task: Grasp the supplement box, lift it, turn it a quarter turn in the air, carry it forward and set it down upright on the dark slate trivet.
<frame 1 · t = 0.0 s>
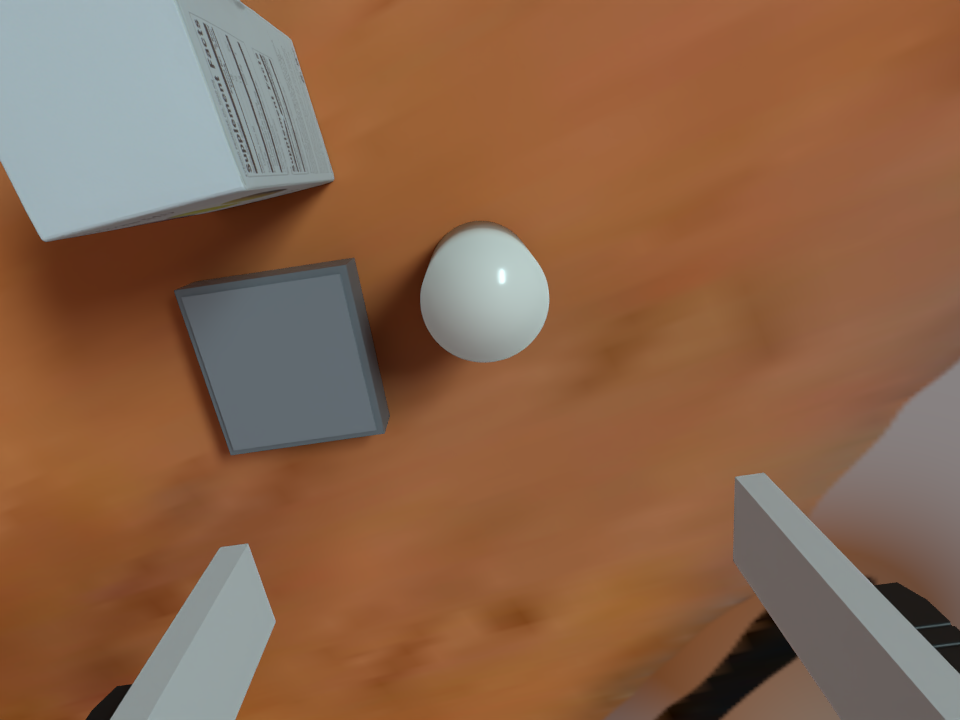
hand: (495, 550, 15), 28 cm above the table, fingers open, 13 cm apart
white rounded knob: (480, 273, 40), on the table
supplement box: (251, 129, 37), on the table
slate trivet: (296, 352, 42), on the table
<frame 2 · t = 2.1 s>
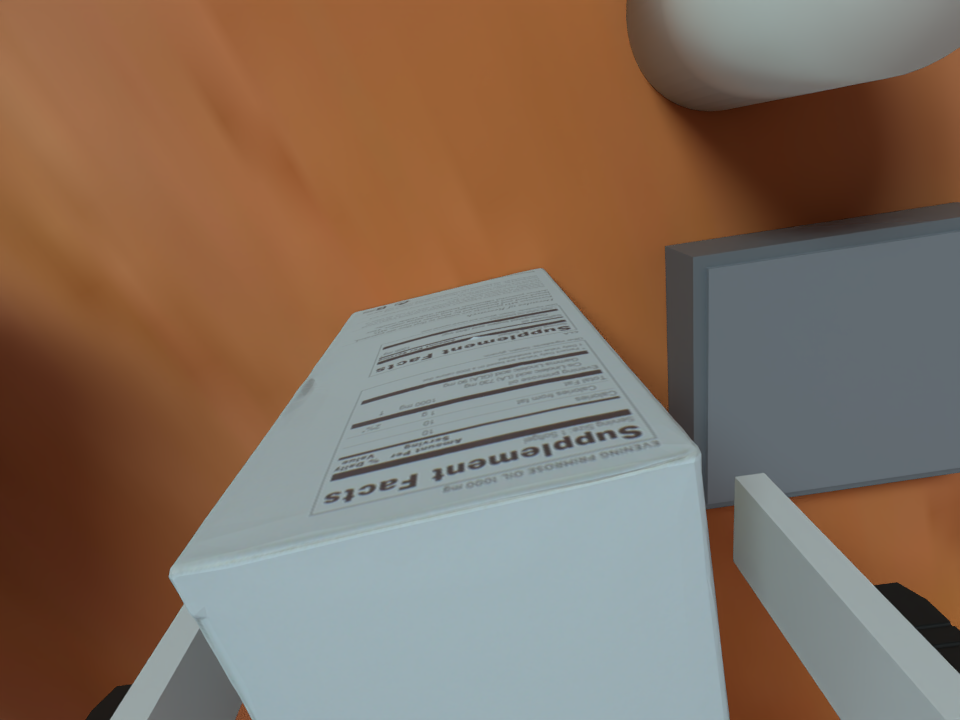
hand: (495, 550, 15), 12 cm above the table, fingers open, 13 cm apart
white rounded knob: (723, 3, 21), on the table
supplement box: (470, 378, 26), on the table
slate trivet: (801, 350, 26), on the table
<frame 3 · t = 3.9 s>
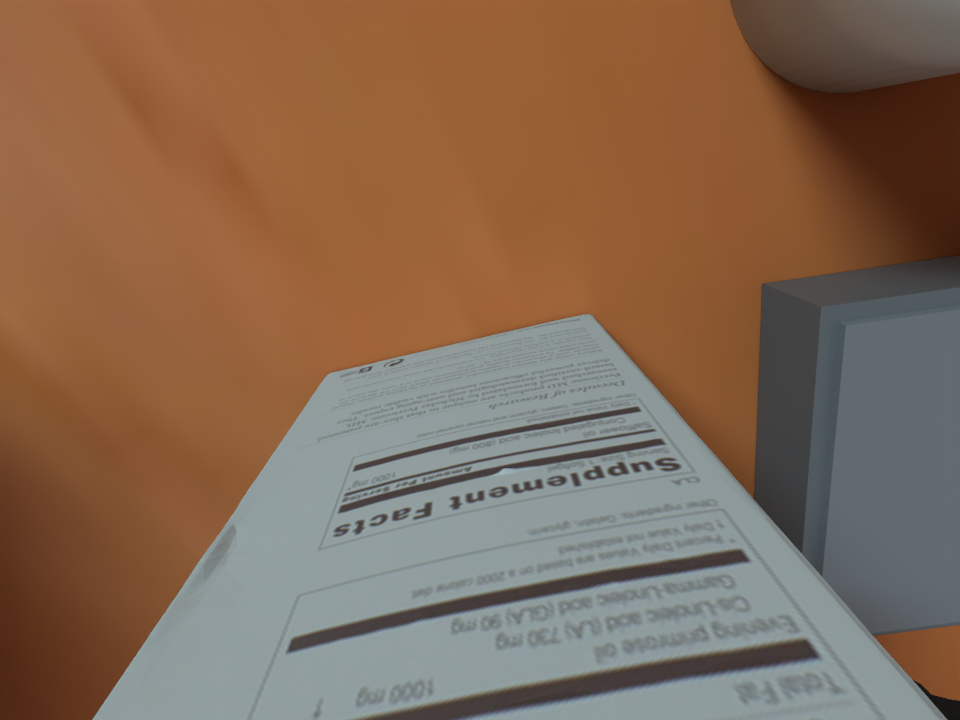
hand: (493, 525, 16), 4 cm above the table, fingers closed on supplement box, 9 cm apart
supplement box: (487, 457, 19), on the table, touching gripper
slate trivet: (940, 423, 19), on the table
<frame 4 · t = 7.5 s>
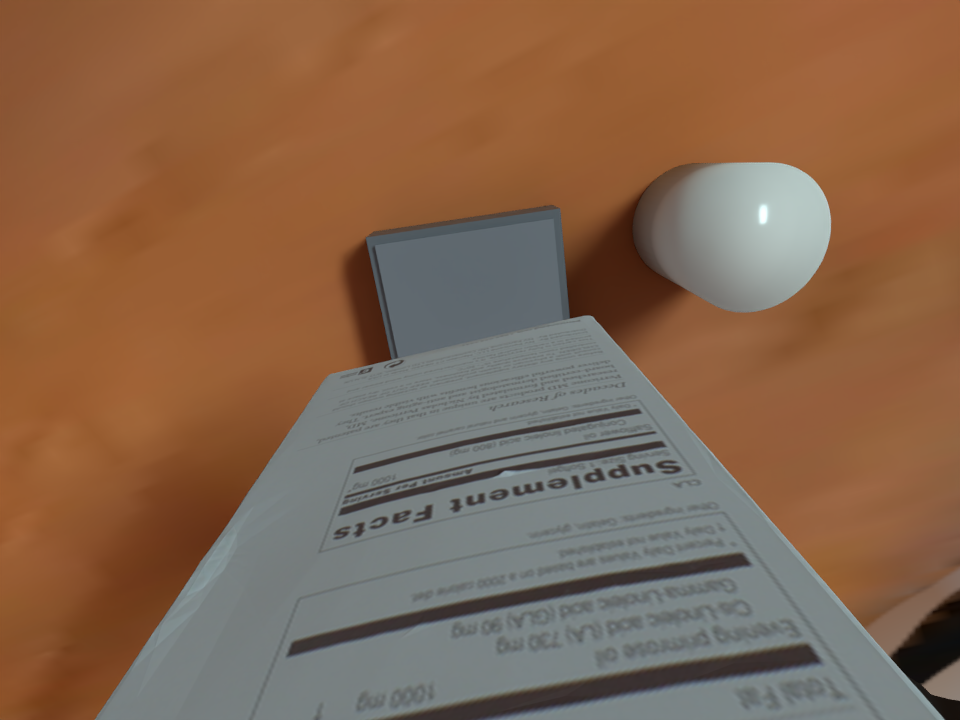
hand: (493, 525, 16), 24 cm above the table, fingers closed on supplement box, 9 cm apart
white rounded knob: (688, 223, 36), on the table
supplement box: (487, 459, 19), point 20 cm above the table, touching gripper
slate trivet: (476, 312, 38), on the table
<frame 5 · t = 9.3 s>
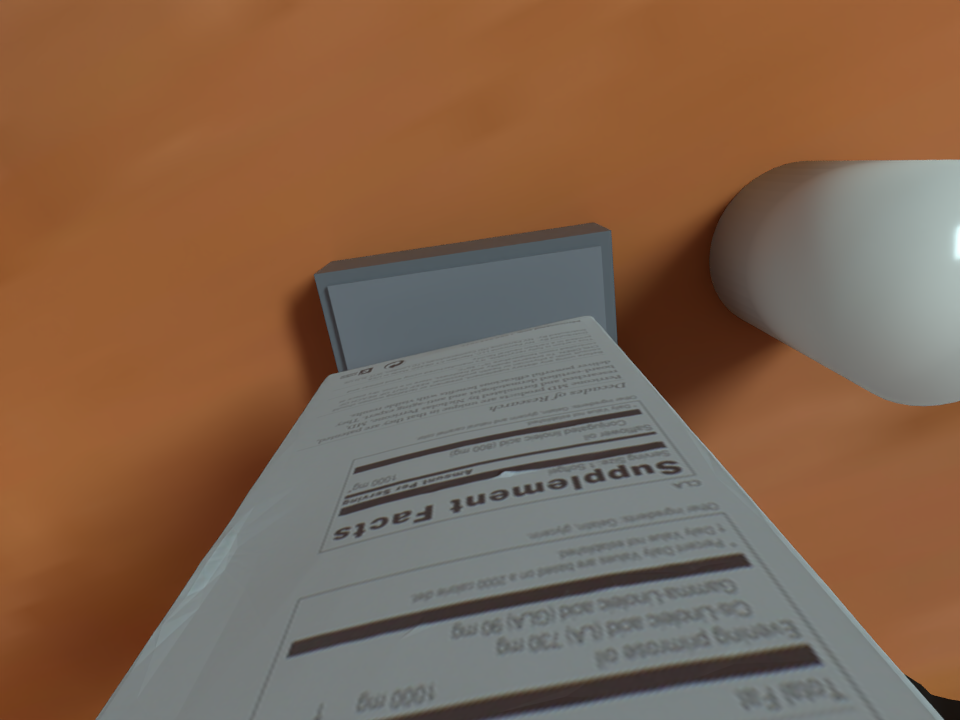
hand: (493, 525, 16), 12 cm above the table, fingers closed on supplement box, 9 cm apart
white rounded knob: (791, 248, 25), on the table
supplement box: (488, 459, 19), point 8 cm above the table, touching gripper
slate trivet: (482, 374, 27), on the table
when the fingers open (8 cm above the table, at t = 11.1 s): supplement box drops 1 cm, resting on slate trivet.
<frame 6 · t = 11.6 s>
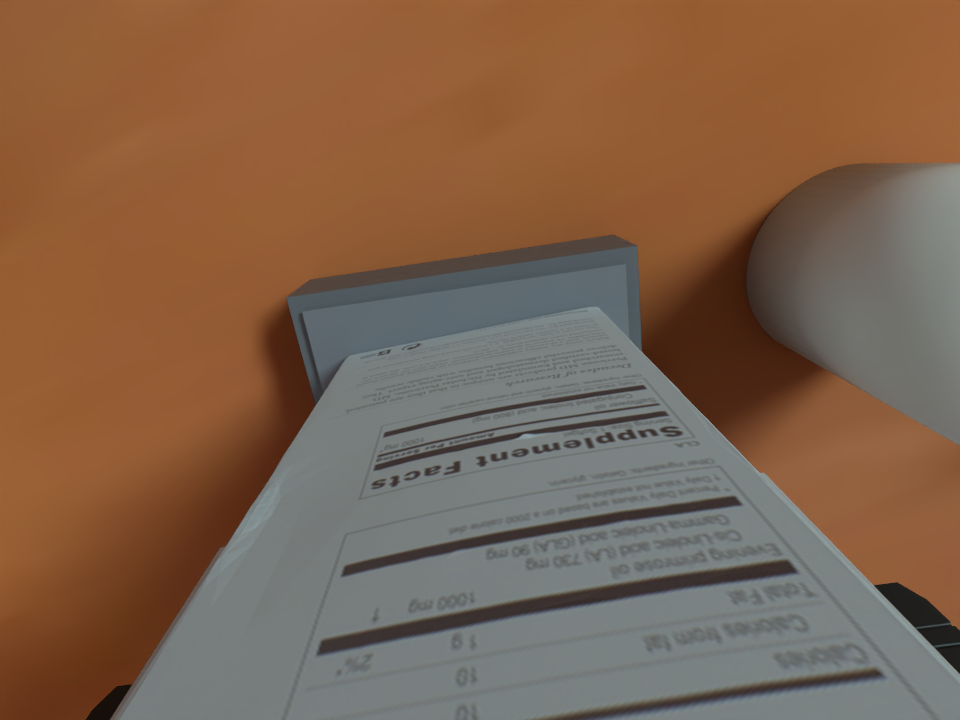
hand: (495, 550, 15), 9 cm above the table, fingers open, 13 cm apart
white rounded knob: (840, 264, 22), on the table
supplement box: (495, 440, 20), point 3 cm above the table, touching slate trivet
slate trivet: (484, 407, 23), on the table
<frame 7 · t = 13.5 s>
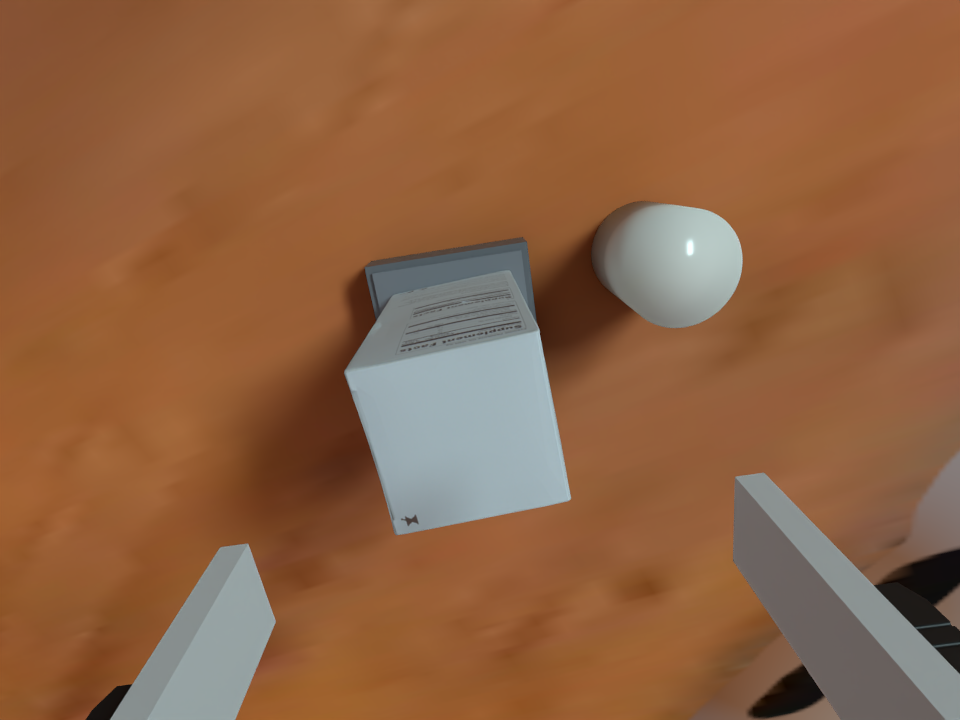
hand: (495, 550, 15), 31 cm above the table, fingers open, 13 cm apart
white rounded knob: (638, 251, 43), on the table
supplement box: (463, 338, 41), point 3 cm above the table, touching slate trivet
slate trivet: (460, 328, 44), on the table
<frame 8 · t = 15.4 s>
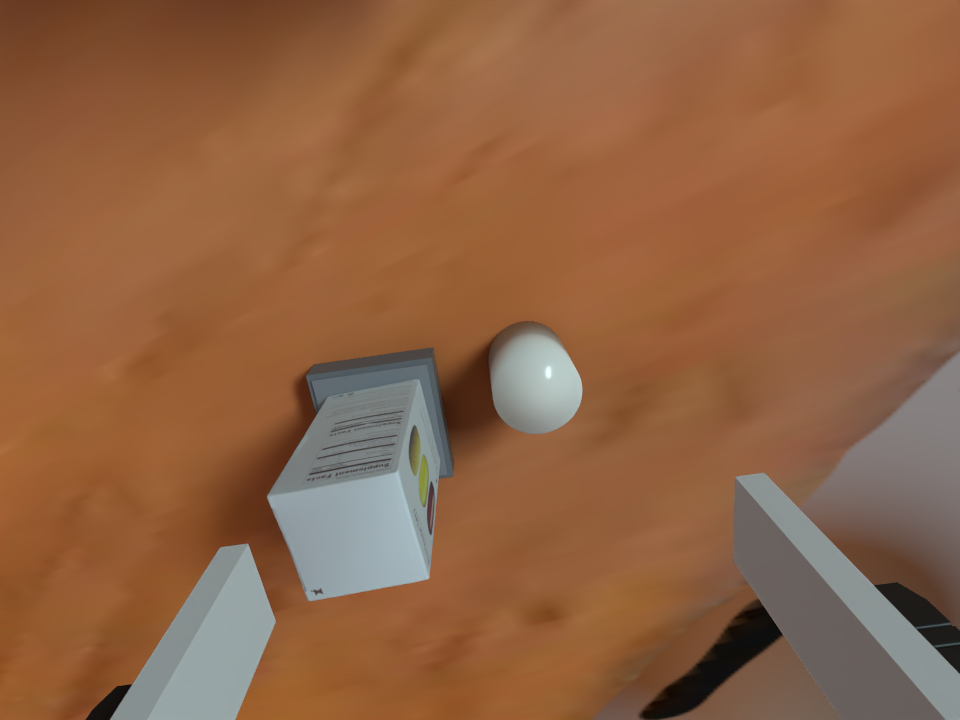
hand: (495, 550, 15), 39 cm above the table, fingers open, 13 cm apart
white rounded knob: (526, 357, 54), on the table
supplement box: (385, 428, 53), point 3 cm above the table, touching slate trivet
slate trivet: (386, 414, 56), on the table
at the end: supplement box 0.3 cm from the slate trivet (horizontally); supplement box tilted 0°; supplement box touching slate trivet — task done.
